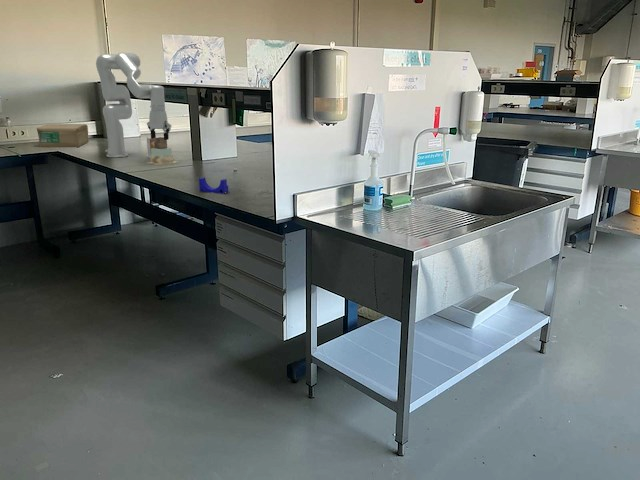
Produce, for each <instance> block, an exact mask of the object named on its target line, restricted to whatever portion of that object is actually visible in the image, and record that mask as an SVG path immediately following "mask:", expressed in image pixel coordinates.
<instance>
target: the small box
mask: <svg viewBox="0 0 640 480" xmlns="http://www.w3.org/2000/svg"><path fill="white" fill-rule="evenodd" d="M157 137H158V136H156V138H157ZM146 147H147V158H148V159H150V156H151V149H152V148H155V147H154V138H151V136H149V137H148V136H146Z"/></svg>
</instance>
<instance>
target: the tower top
mask: <svg viewBox="0 0 640 480" xmlns="http://www.w3.org/2000/svg"><path fill="white" fill-rule="evenodd" d="M172 150H173V149H172V147H167V148H165V149H155V148H152V149H151V155H152V156H160V157H164V156H169V155H173V153H172Z"/></svg>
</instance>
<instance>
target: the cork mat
mask: <svg viewBox="0 0 640 480" xmlns="http://www.w3.org/2000/svg"><path fill="white" fill-rule="evenodd" d="M173 161H174V162H170V163H165V164H159V163H151V161H146V162H145V164H152V165H160V166H164V165H169V164H175V163H179V162H180V161H177V160H173Z"/></svg>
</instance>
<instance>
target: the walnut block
mask: <svg viewBox="0 0 640 480" xmlns="http://www.w3.org/2000/svg"><path fill="white" fill-rule="evenodd" d="M156 137H157V138H154V147H155V149H165V148H168V141H167V140H164V136H163V137H161V136H156Z"/></svg>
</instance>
